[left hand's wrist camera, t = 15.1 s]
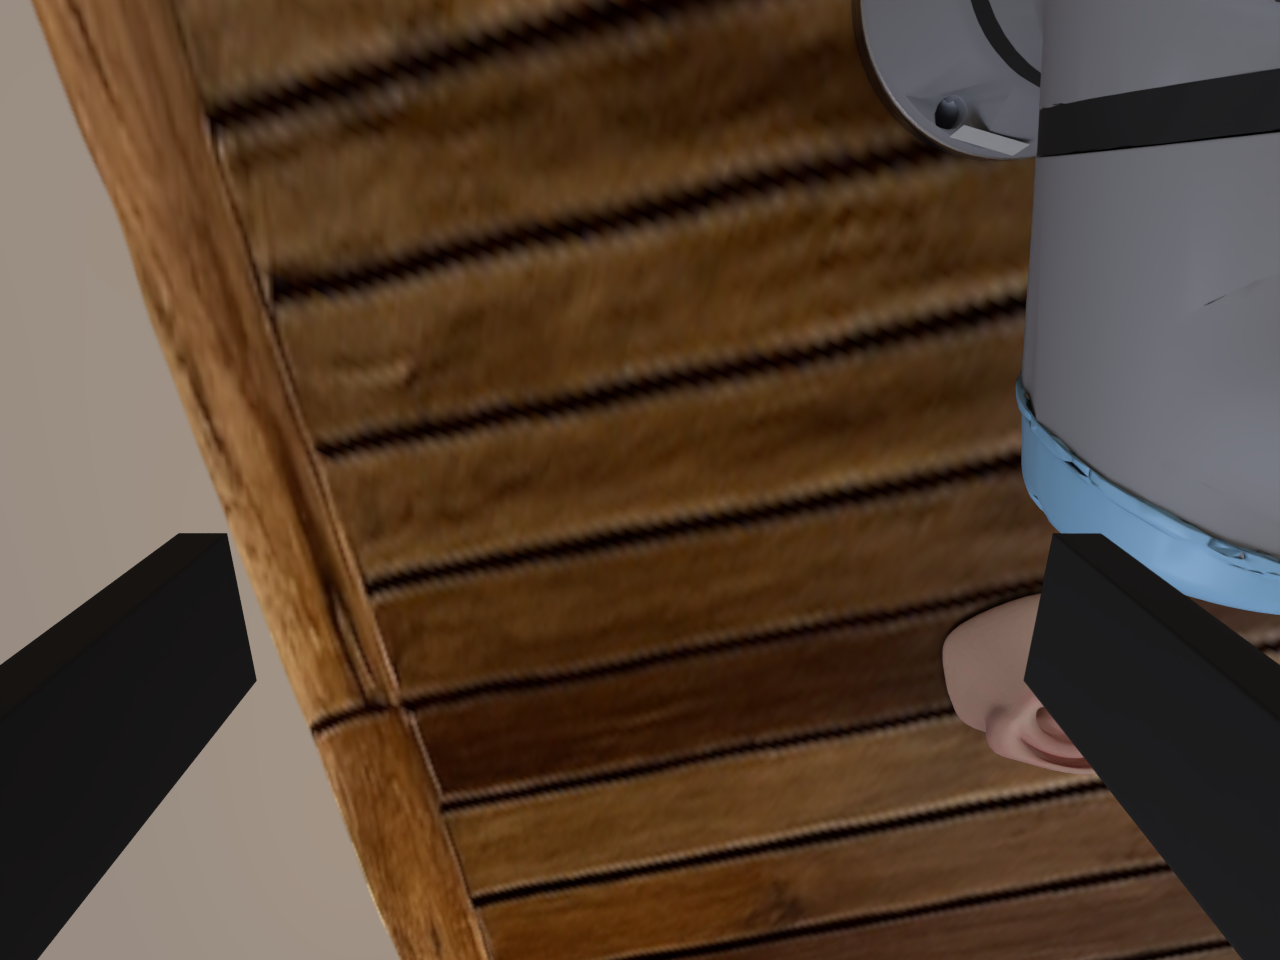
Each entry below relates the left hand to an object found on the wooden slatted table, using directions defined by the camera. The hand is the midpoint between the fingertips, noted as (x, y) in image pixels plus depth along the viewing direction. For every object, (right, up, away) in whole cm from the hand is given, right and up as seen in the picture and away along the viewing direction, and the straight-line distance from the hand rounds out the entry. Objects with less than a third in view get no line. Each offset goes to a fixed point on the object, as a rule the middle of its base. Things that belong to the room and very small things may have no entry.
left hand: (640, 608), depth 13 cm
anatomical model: (+25, -10, +36) cm, 45 cm away
